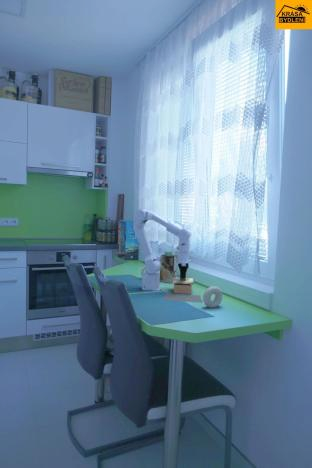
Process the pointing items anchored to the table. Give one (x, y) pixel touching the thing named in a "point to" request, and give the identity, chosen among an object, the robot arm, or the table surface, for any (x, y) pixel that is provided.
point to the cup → (143, 271)
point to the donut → (216, 300)
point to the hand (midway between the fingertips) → (182, 277)
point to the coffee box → (168, 268)
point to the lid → (183, 280)
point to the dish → (182, 288)
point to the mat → (182, 298)
